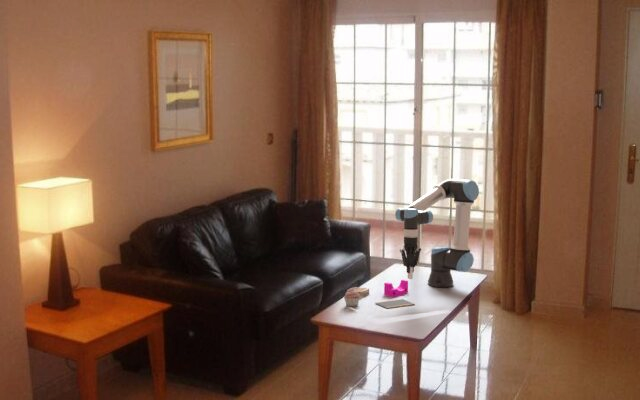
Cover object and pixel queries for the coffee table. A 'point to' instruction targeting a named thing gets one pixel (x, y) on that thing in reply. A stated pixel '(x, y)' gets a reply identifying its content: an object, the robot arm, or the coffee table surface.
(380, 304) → the mat
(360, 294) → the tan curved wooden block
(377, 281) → the coffee table surface
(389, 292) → the toy block
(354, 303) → the cupcake
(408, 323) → the coffee table surface
